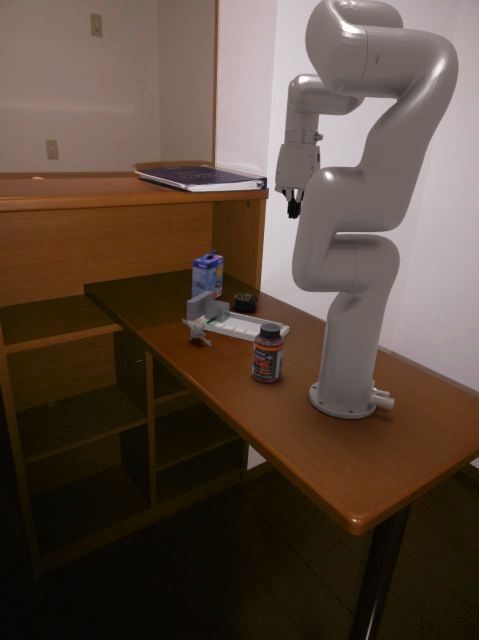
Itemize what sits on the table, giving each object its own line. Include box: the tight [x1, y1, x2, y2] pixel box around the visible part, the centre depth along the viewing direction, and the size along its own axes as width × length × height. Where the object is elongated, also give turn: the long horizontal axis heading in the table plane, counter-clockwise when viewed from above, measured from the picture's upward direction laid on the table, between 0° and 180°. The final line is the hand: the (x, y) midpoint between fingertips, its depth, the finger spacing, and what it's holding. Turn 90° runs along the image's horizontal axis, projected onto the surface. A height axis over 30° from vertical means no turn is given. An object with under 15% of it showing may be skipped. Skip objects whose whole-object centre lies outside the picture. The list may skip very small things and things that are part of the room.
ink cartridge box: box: [191, 249, 225, 300], centre depth 133 cm, size 10×6×14 cm, turn 155°
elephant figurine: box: [181, 318, 213, 347], centre depth 107 cm, size 9×5×8 cm
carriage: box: [205, 299, 230, 323], centre depth 116 cm, size 5×7×4 cm
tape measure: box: [232, 293, 259, 312], centre depth 128 cm, size 7×7×4 cm
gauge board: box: [186, 291, 290, 343], centre depth 114 cm, size 24×10×6 cm, turn 64°
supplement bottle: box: [251, 323, 285, 384], centre depth 91 cm, size 6×6×11 cm
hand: (293, 217), depth 113 cm, fingers closed
